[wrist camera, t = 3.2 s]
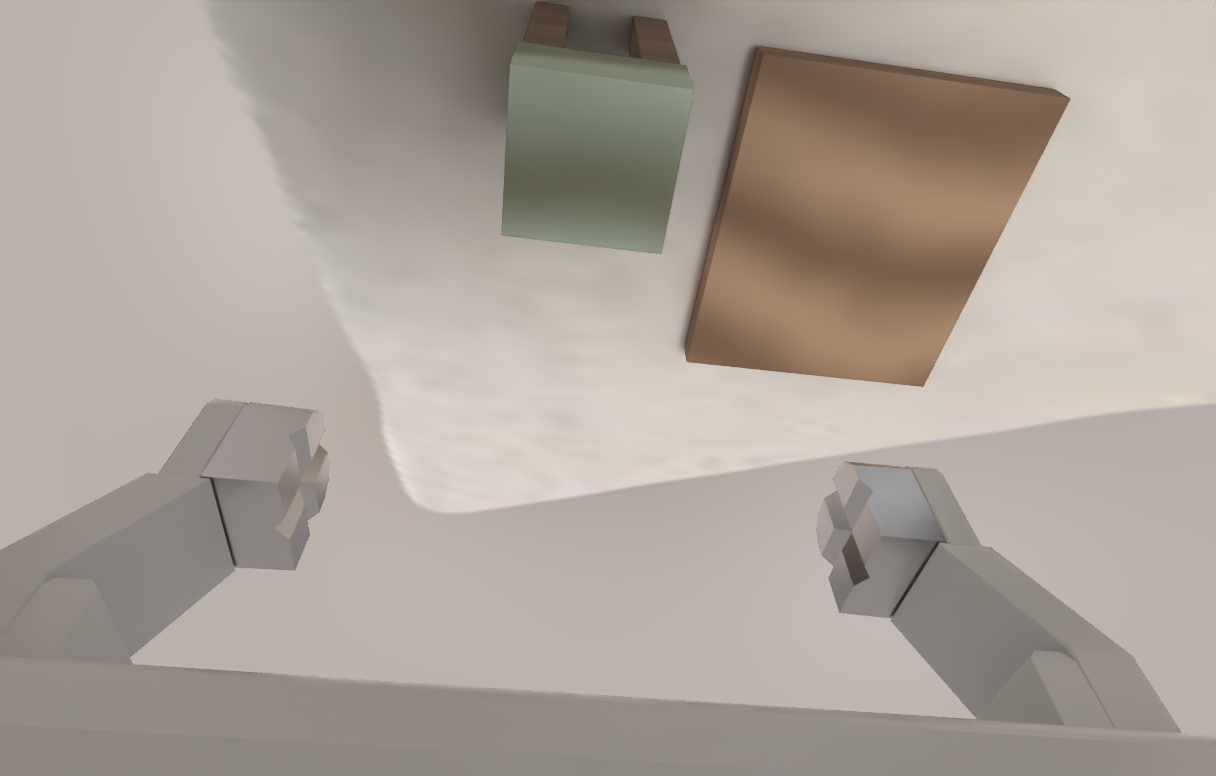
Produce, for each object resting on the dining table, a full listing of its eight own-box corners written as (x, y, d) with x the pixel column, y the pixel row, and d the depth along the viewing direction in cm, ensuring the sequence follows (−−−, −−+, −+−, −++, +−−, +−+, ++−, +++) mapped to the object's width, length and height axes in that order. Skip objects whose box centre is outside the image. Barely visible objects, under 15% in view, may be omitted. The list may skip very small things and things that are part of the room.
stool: (533, -3, 26) (509, 64, 19) (669, 18, 27) (694, 89, 20) (524, 134, 29) (501, 235, 22) (646, 150, 30) (661, 254, 23)
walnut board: (757, 45, 27) (763, 54, 26) (1055, 89, 28) (1070, 98, 28) (684, 347, 36) (686, 361, 35) (915, 372, 37) (923, 386, 36)
